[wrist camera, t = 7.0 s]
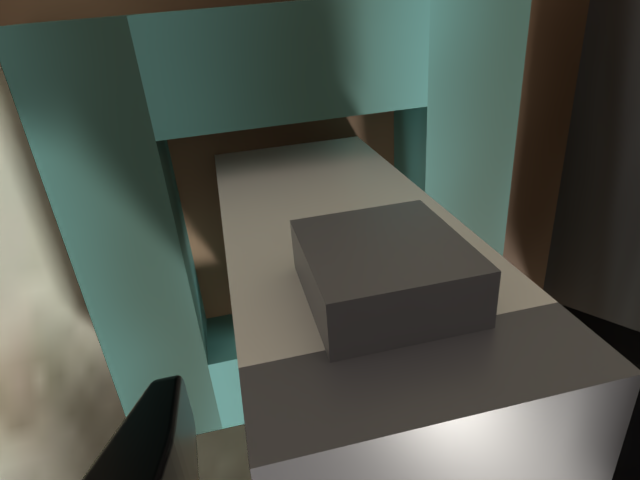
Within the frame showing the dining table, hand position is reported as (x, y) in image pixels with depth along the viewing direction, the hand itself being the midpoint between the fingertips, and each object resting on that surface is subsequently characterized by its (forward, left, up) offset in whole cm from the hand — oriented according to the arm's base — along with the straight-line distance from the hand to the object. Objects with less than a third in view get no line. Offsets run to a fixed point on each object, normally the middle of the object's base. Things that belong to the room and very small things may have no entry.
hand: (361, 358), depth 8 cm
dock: (+7, 0, -7) cm, 10 cm away
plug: (0, 0, -6) cm, 6 cm away
